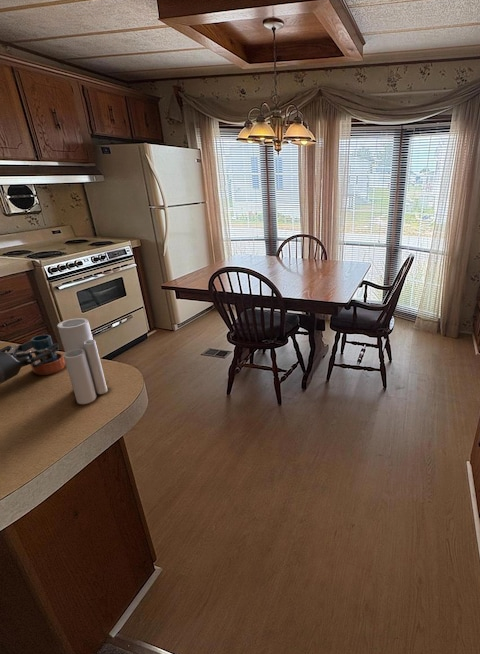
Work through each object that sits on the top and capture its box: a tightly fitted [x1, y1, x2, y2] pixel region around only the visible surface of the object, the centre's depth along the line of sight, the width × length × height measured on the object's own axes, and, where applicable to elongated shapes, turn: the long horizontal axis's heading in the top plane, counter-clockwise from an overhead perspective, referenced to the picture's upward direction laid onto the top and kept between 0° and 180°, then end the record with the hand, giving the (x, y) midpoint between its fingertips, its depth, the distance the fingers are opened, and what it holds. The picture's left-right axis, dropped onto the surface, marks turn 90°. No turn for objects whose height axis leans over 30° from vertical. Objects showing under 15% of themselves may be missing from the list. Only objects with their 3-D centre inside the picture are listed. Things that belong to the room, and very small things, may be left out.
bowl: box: [30, 352, 66, 376], centre depth 105 cm, size 8×8×4 cm
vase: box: [56, 317, 108, 405], centre depth 91 cm, size 11×7×20 cm, turn 36°
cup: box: [30, 334, 58, 364], centre depth 103 cm, size 5×5×10 cm
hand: (45, 344), depth 103 cm, fingers open, 8 cm apart
